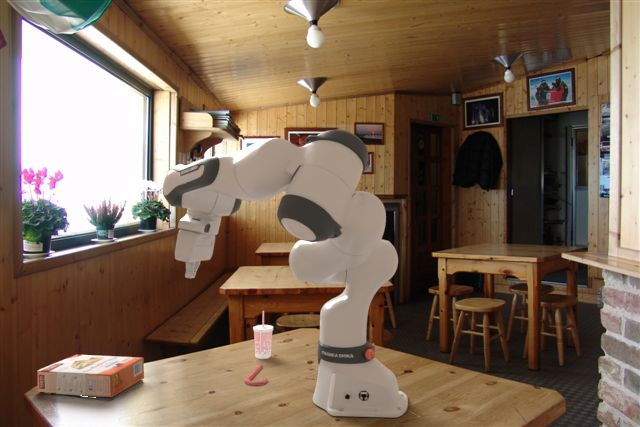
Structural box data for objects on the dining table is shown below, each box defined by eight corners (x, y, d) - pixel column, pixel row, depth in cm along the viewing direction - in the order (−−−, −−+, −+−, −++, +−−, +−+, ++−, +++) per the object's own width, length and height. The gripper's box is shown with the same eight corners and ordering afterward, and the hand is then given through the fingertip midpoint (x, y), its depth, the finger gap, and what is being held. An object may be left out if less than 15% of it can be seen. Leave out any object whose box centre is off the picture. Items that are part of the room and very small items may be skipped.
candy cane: (278, 369, 143) (278, 364, 143) (264, 388, 128) (264, 383, 128) (258, 368, 144) (258, 363, 144) (241, 386, 129) (241, 381, 129)
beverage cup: (275, 354, 155) (276, 309, 155) (269, 360, 149) (269, 313, 149) (257, 352, 157) (257, 308, 156) (250, 358, 151) (250, 312, 150)
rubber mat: (143, 381, 131) (143, 380, 131) (111, 400, 119) (111, 399, 119) (113, 378, 133) (113, 377, 133) (78, 396, 121) (78, 395, 121)
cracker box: (111, 372, 118) (35, 370, 122) (112, 398, 118) (36, 394, 122) (144, 355, 131) (74, 353, 136) (145, 378, 132) (75, 375, 136)
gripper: (202, 223, 139) (190, 272, 138) (176, 220, 119) (163, 277, 118) (224, 228, 139) (212, 277, 138) (202, 226, 118) (188, 283, 118)
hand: (189, 277), depth 128 cm, fingers closed
